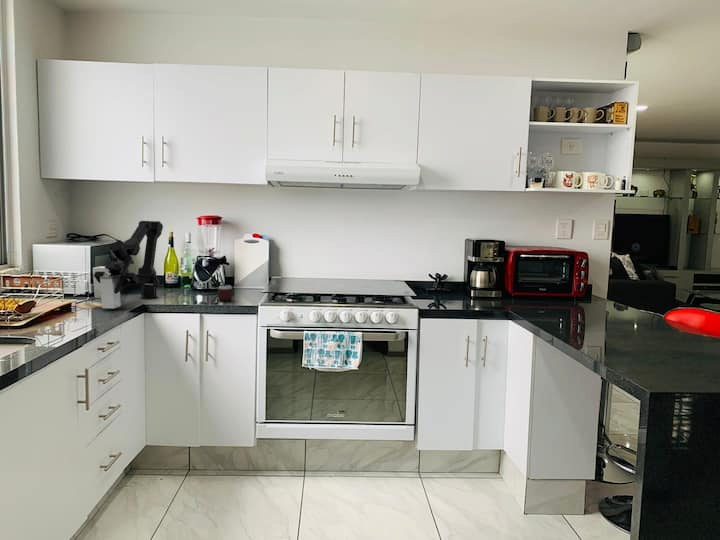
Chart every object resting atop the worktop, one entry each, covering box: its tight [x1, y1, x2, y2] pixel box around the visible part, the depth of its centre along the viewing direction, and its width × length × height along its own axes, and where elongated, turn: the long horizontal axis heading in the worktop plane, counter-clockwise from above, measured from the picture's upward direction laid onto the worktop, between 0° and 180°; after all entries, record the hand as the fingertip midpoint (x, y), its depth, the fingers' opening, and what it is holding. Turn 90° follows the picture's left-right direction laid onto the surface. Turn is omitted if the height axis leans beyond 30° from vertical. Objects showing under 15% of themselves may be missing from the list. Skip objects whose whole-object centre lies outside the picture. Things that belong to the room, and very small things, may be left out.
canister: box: [100, 275, 122, 309], centre depth 240 cm, size 6×6×14 cm
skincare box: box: [92, 265, 111, 299], centre depth 272 cm, size 8×7×16 cm
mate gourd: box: [214, 270, 234, 303], centre depth 267 cm, size 8×8×15 cm
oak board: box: [74, 301, 102, 310], centre depth 250 cm, size 12×12×1 cm
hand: (109, 292), depth 239 cm, fingers closed on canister, 5 cm apart
